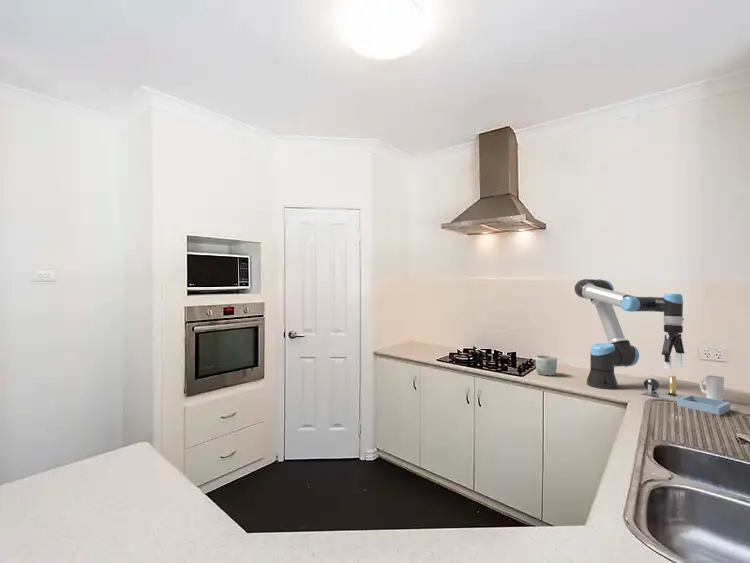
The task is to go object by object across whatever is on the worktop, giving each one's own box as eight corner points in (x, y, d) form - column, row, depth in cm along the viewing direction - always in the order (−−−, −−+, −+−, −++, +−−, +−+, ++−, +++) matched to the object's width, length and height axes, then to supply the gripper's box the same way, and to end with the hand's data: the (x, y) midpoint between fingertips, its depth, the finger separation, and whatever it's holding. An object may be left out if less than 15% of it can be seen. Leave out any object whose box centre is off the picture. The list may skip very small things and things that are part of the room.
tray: (677, 406, 182) (677, 398, 182) (689, 401, 191) (689, 394, 191) (719, 416, 170) (719, 407, 170) (730, 410, 178) (730, 402, 178)
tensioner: (640, 395, 201) (640, 378, 201) (648, 392, 206) (649, 376, 207) (680, 404, 187) (680, 386, 187) (688, 400, 192) (688, 383, 193)
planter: (554, 373, 250) (554, 356, 250) (558, 377, 238) (559, 359, 238) (533, 371, 253) (534, 354, 253) (537, 375, 241) (537, 358, 241)
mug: (727, 402, 191) (727, 378, 191) (718, 403, 189) (718, 378, 189) (703, 397, 200) (704, 373, 201) (695, 397, 198) (695, 374, 198)
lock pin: (667, 398, 194) (667, 376, 194) (669, 397, 196) (670, 375, 196) (674, 399, 192) (674, 377, 192) (676, 398, 193) (676, 376, 194)
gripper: (672, 326, 184) (672, 371, 184) (691, 324, 198) (691, 366, 198) (653, 324, 190) (653, 368, 190) (674, 323, 204) (674, 363, 204)
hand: (673, 367), depth 194 cm, fingers open, 13 cm apart
